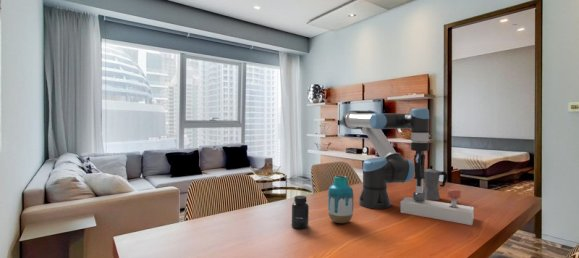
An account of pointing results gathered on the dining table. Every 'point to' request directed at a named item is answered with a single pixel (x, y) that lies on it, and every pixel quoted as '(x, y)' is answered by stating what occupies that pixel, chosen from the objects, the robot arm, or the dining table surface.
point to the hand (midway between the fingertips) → (419, 192)
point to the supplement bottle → (300, 213)
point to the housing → (438, 210)
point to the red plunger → (454, 196)
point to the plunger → (419, 197)
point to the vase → (340, 200)
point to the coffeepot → (433, 183)
